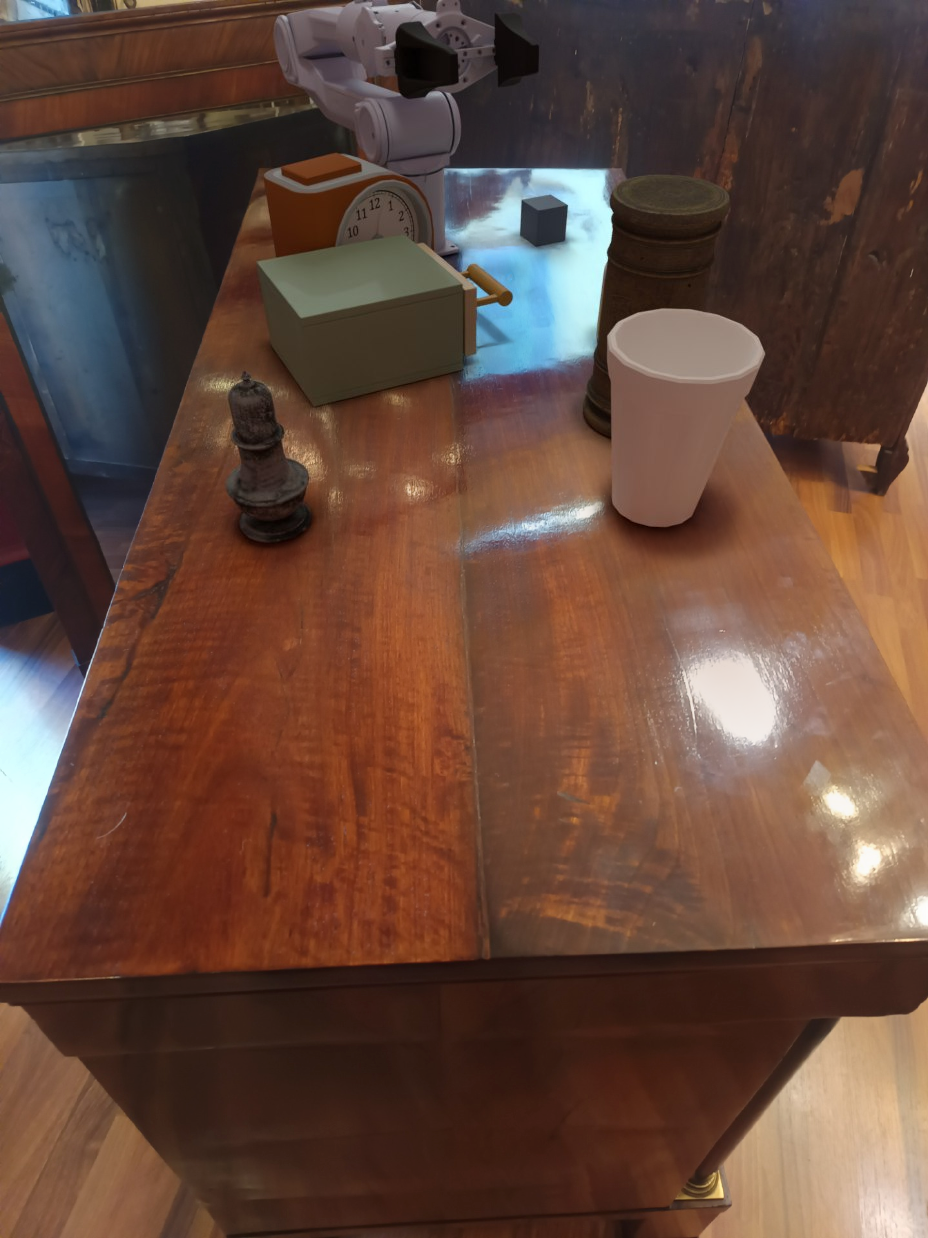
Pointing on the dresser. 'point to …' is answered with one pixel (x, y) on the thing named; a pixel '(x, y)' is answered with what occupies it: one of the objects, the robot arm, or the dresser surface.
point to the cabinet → (362, 317)
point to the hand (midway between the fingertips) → (495, 63)
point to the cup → (673, 406)
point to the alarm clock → (342, 205)
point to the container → (653, 261)
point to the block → (543, 220)
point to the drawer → (473, 296)
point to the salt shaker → (264, 468)
